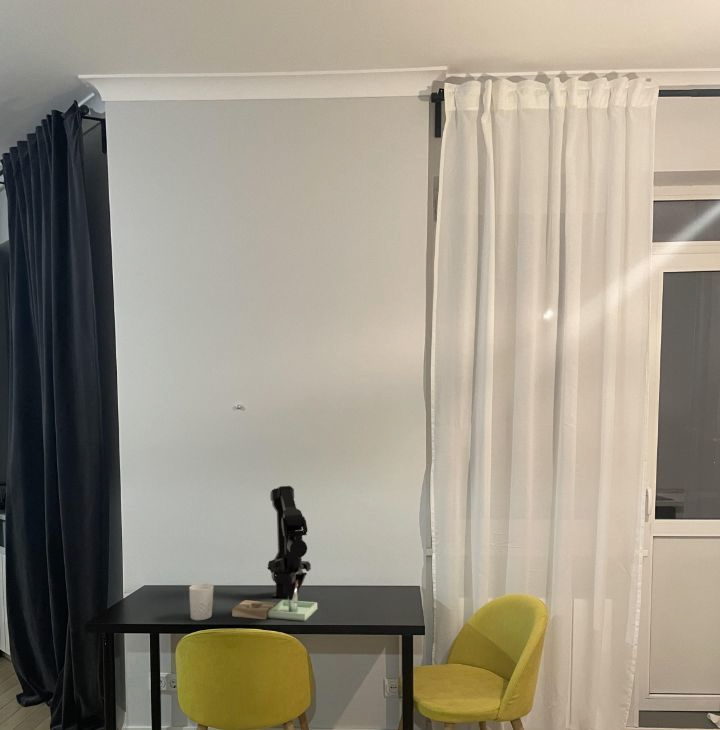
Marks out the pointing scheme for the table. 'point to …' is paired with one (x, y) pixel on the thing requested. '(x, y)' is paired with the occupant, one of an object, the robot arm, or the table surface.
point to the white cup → (201, 601)
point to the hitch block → (252, 609)
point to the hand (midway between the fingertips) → (293, 597)
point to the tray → (283, 612)
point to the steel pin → (293, 602)
